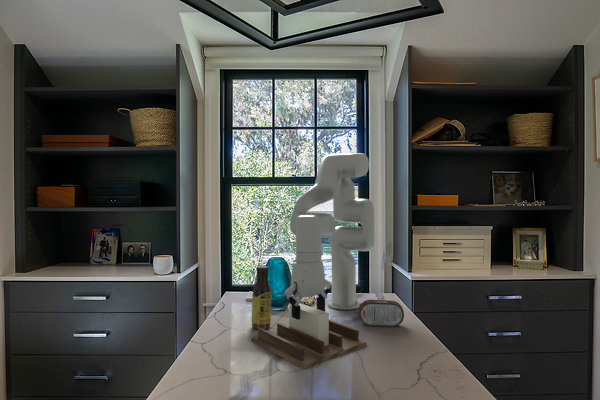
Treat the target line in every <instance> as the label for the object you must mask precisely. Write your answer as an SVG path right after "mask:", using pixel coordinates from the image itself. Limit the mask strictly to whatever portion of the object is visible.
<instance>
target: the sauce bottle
mask: <svg viewBox="0 0 600 400" xmlns="http://www.w3.org/2000/svg"><path fill="white" fill-rule="evenodd" d="M269 269H270V268H269V266H266V265H258V266H256V281H255V283H254V285H253V288H252V296H251V297H252V299H251V300H252V301H251V302H252V304H251V326H252V328H253V329H255V330H258V328H263V329H265V330H267V329H268V328H269V327H270V326H271V322H272V321H271V320H272V319H271V318H272V289H271V286H270V283H269V282H270V281H269V272H270V271H269Z"/></svg>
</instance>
